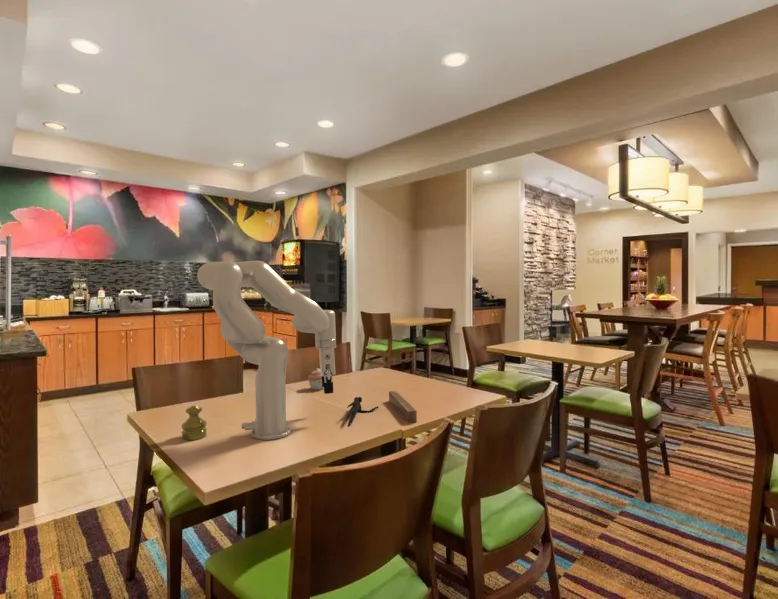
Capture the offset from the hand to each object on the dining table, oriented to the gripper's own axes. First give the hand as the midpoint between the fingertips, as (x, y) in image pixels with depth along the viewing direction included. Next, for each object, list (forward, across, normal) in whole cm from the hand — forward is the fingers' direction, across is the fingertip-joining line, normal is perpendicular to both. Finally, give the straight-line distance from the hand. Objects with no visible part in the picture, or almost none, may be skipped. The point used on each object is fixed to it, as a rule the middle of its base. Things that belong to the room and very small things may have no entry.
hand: (327, 389), depth 163 cm
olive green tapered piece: (+9, -12, +44) cm, 46 cm away
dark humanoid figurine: (+11, -3, -12) cm, 17 cm away
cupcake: (+11, +44, +1) cm, 46 cm away
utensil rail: (+11, 0, -28) cm, 30 cm away
